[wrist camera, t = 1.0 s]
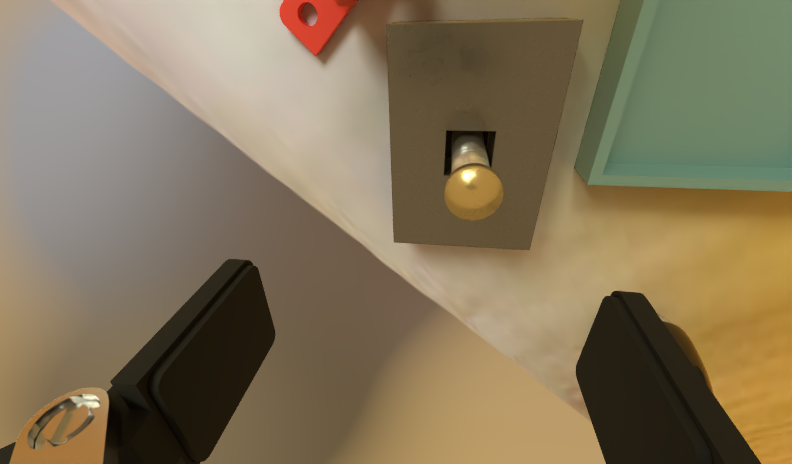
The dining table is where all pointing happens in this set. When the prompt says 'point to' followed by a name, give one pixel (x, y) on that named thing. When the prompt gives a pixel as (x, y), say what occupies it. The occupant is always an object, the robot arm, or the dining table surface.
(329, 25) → the bracket
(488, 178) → the pin
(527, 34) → the grey-brown socket block
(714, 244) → the dining table surface
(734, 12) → the tray
